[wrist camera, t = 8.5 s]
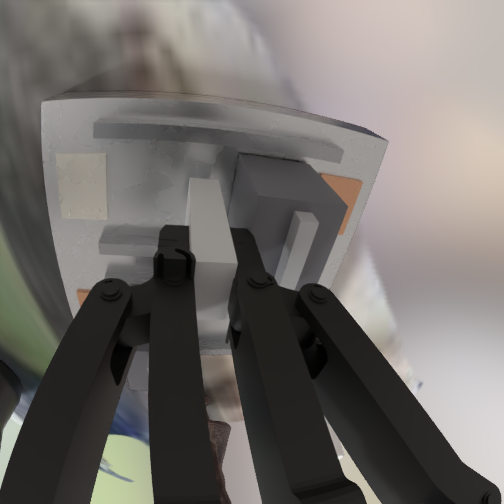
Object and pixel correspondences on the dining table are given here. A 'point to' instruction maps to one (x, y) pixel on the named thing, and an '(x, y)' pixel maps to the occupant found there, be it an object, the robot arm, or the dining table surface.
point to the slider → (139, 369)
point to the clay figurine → (219, 451)
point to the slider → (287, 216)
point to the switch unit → (176, 176)
